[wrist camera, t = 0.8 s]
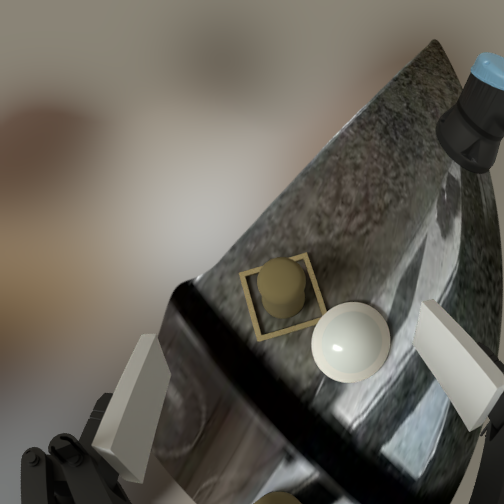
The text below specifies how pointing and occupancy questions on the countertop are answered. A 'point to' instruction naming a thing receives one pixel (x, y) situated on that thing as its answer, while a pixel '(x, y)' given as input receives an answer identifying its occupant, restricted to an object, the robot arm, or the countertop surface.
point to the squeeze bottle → (278, 498)
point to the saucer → (350, 342)
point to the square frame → (293, 328)
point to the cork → (282, 287)
